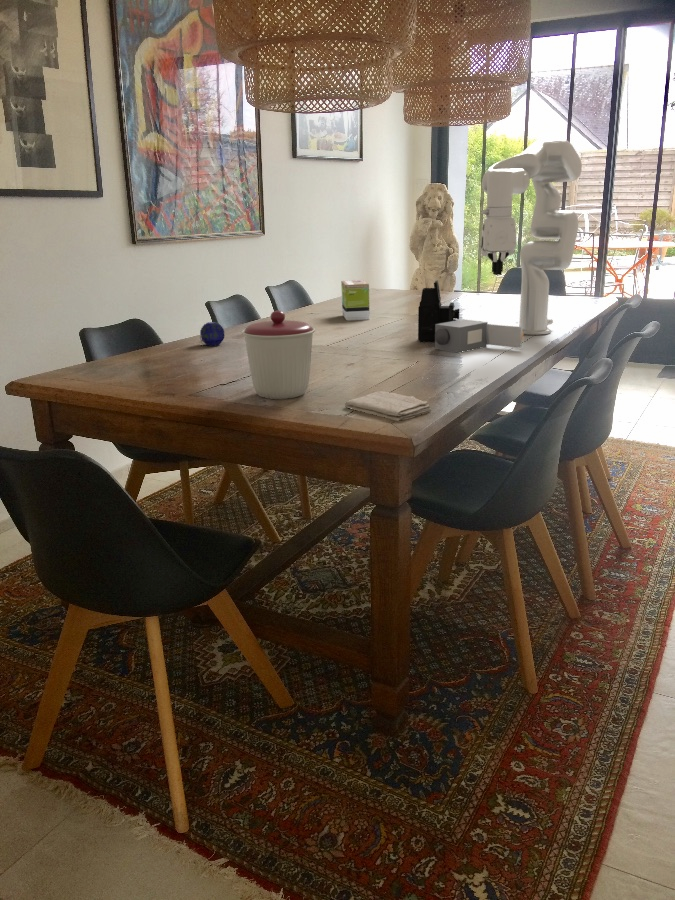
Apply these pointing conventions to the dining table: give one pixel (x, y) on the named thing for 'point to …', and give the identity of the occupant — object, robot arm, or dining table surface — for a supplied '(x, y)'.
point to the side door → (504, 335)
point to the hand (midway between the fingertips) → (497, 274)
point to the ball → (211, 334)
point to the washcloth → (389, 405)
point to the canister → (279, 356)
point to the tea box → (355, 300)
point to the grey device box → (460, 335)
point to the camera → (433, 313)
